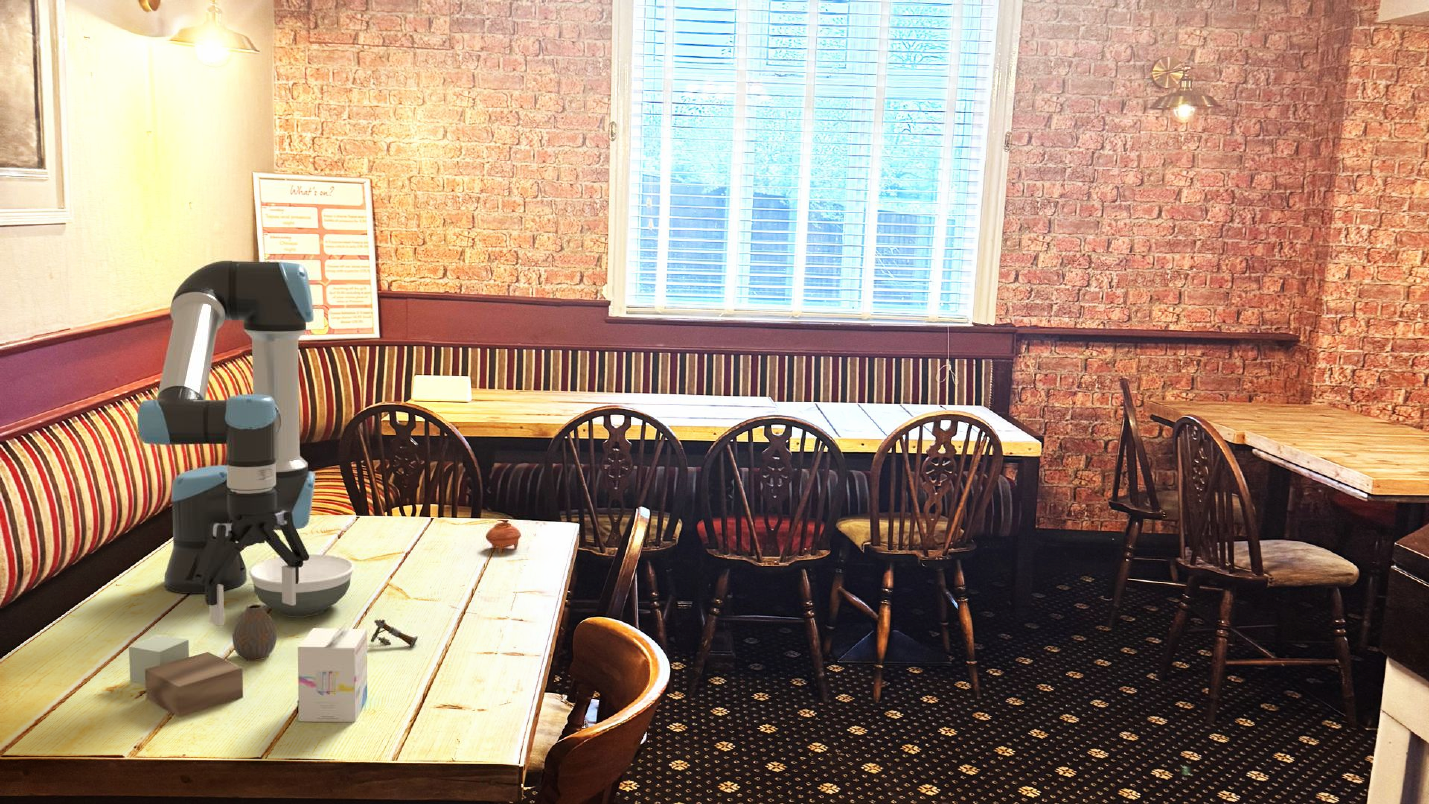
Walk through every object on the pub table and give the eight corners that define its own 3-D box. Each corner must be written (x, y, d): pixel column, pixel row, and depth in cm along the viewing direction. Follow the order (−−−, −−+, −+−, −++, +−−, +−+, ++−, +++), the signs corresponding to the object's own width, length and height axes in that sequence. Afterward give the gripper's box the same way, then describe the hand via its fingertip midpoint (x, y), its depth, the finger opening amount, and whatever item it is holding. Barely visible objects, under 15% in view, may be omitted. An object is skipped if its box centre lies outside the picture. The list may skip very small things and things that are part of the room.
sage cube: (130, 682, 180) (129, 646, 179) (159, 669, 186) (158, 634, 185) (160, 688, 178) (159, 652, 177) (189, 675, 184) (188, 639, 183)
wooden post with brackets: (368, 636, 202) (378, 614, 201) (408, 657, 201) (418, 635, 201) (364, 640, 200) (374, 618, 199) (405, 660, 200) (415, 639, 199)
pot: (520, 553, 259) (513, 525, 258) (487, 560, 259) (480, 532, 258) (526, 543, 267) (520, 515, 266) (494, 549, 267) (487, 522, 266)
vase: (261, 666, 189) (260, 614, 187) (224, 661, 190) (223, 610, 189) (285, 651, 195) (284, 602, 194) (248, 647, 197) (247, 598, 195)
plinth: (146, 700, 174) (145, 669, 173) (208, 681, 182) (208, 651, 181) (179, 719, 168) (178, 686, 167) (243, 699, 176) (242, 668, 175)
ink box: (312, 699, 176) (311, 615, 174) (368, 699, 177) (368, 616, 175) (297, 722, 168) (296, 635, 166) (355, 722, 169) (355, 636, 167)
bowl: (255, 631, 204) (254, 587, 203) (245, 600, 221) (244, 559, 219) (363, 619, 213) (362, 576, 212) (345, 590, 229) (344, 550, 228)
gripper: (195, 504, 176) (198, 636, 179) (329, 480, 197) (330, 600, 199) (167, 497, 180) (170, 627, 183) (301, 475, 201) (303, 592, 203)
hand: (254, 613), depth 191 cm, fingers open, 13 cm apart
